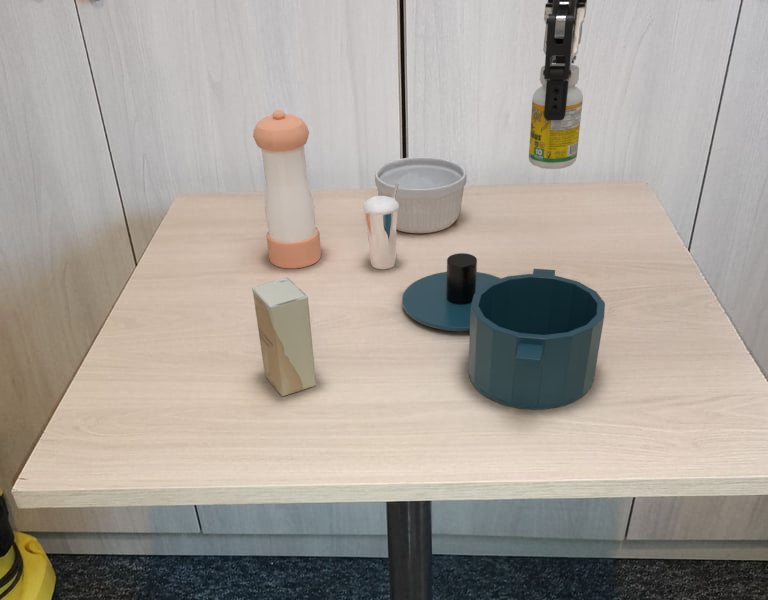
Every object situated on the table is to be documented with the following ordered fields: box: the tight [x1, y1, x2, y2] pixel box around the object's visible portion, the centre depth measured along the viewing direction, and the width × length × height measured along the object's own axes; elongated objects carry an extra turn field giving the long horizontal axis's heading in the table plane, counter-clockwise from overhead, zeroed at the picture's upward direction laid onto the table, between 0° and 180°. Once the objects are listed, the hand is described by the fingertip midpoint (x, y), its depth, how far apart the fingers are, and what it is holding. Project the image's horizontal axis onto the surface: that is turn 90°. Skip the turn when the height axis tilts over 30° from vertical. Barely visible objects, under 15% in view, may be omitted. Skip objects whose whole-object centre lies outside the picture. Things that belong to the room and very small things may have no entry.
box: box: [252, 277, 317, 397], centre depth 87 cm, size 5×4×11 cm
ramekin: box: [374, 156, 467, 234], centre depth 119 cm, size 13×13×7 cm
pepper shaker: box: [252, 109, 322, 269], centre depth 107 cm, size 7×7×19 cm
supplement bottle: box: [528, 63, 584, 170], centre depth 89 cm, size 5×5×10 cm
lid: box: [401, 252, 502, 332], centre depth 99 cm, size 15×15×6 cm
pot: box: [467, 268, 606, 410], centre depth 87 cm, size 14×19×8 cm
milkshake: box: [363, 184, 399, 270], centre depth 108 cm, size 4×5×10 cm
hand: (556, 109), depth 88 cm, fingers closed on supplement bottle, 5 cm apart
